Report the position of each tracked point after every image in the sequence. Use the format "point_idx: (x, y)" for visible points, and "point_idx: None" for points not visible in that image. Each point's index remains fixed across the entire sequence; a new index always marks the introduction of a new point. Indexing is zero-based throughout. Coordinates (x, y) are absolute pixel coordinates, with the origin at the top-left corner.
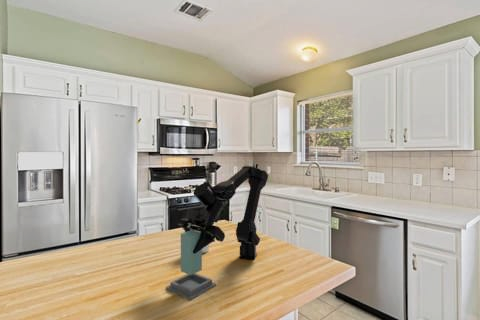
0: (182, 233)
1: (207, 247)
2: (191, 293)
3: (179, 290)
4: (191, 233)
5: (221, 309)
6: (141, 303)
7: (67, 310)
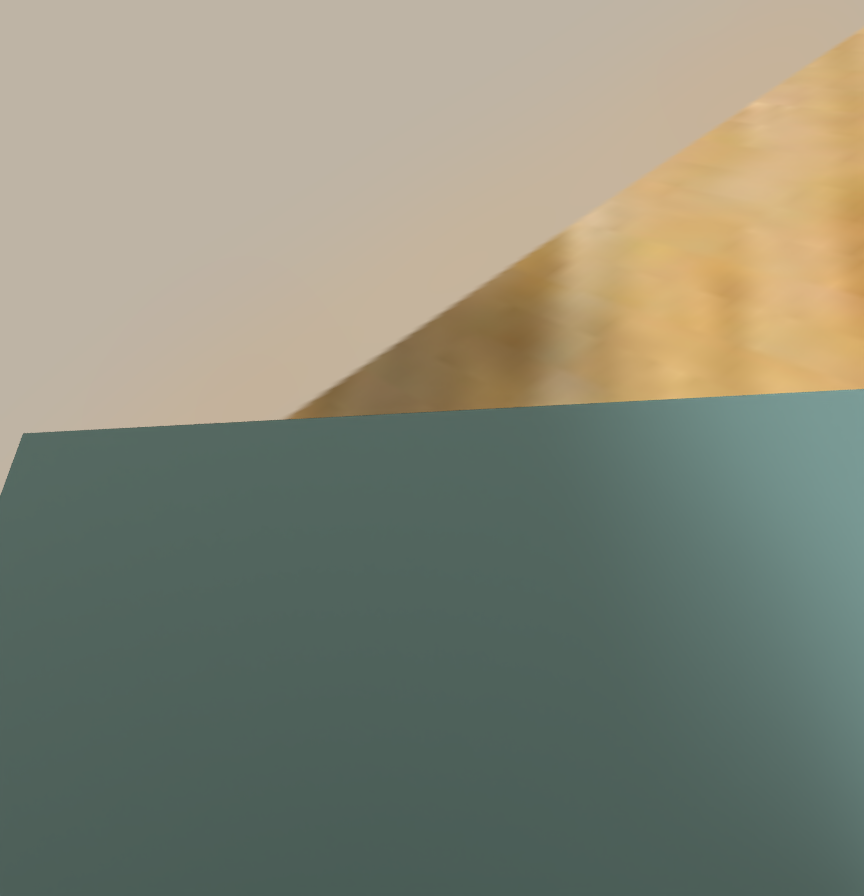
0: (802, 456)
1: None
2: None
3: None
4: (321, 888)
5: None
6: (572, 358)
7: (797, 115)
